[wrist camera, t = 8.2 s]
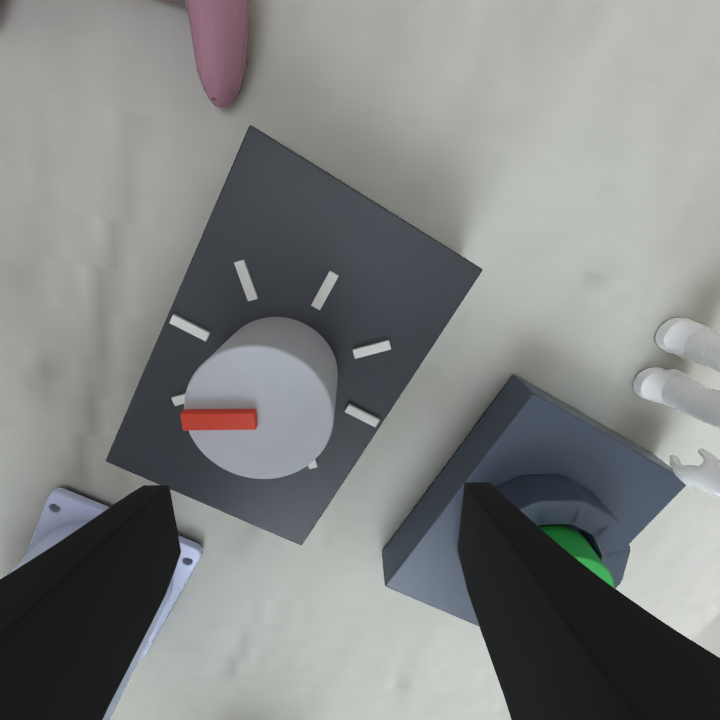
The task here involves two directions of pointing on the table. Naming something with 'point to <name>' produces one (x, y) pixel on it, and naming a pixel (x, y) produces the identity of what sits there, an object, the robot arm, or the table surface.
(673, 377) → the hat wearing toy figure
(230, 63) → the pink curved piece
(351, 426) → the panel
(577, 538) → the button
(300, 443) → the program dial
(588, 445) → the block
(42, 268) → the table surface
